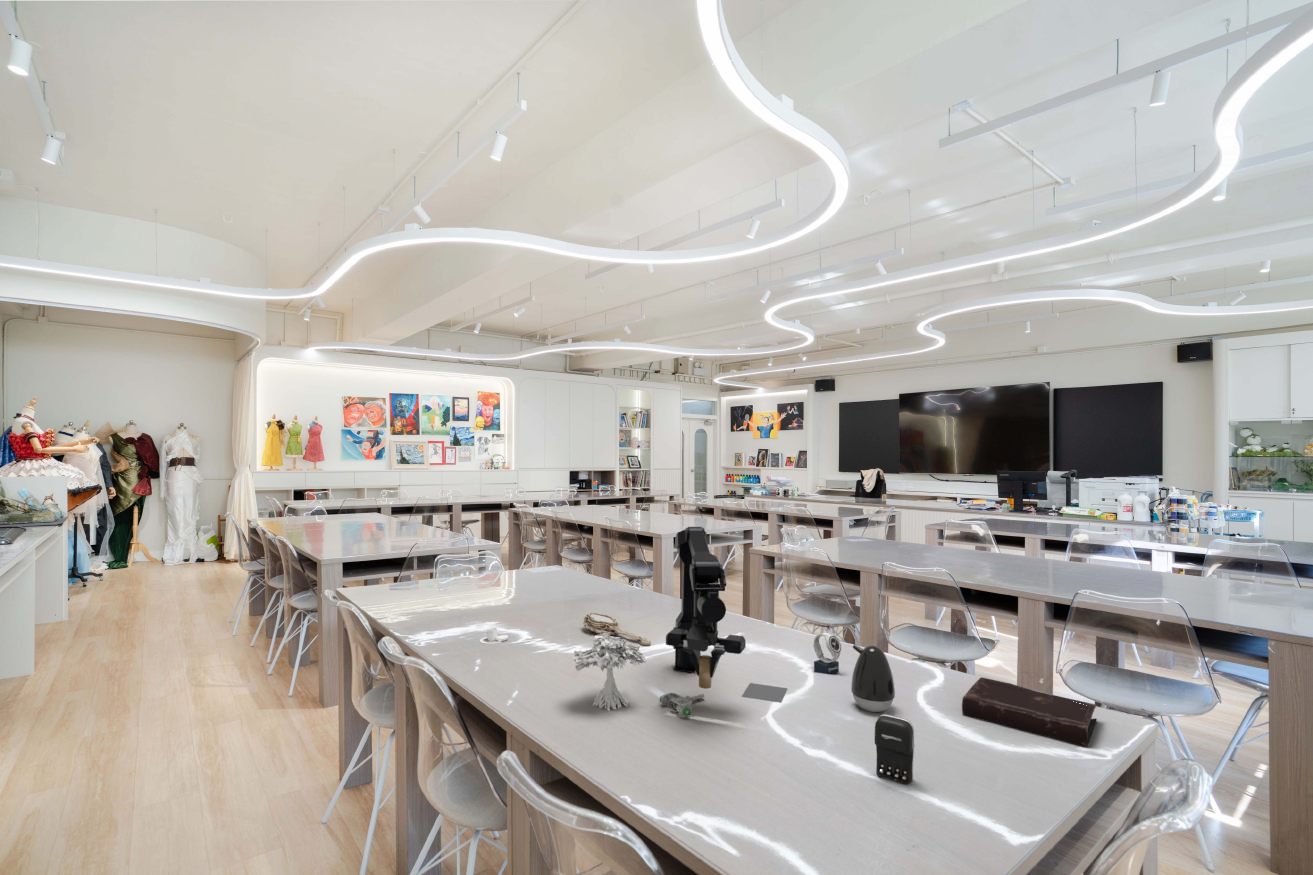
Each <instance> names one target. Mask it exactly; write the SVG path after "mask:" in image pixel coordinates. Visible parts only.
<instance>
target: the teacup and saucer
mask: <svg viewBox="0 0 1313 875" xmlns="http://www.w3.org/2000/svg"><path fill="white" fill-rule="evenodd" d="M486 631H487V634H486ZM483 633H484V635H485V637H482V638H480V639H479V642H480V643H482V644H489V645H491V644H499V643H502V642H504V641H507V640H508V639H509V636H508V635H507V634H502V635H498V634H497V633H498V628H497V627H489V628H487V629H485V630H484V632H483ZM486 639H487V640H488V641H489V642H486V641H484V640H486ZM494 641H495V642H494Z"/></svg>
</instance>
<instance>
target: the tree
mask: <svg viewBox="0 0 1313 875" xmlns="http://www.w3.org/2000/svg"><path fill="white" fill-rule="evenodd" d="M592 642H593V646H591V648H590V649H586V650H584V651H583V650H574V651H573V652H574V656H573V657H572V658H573V661H574V663H575V667H574V668H575V670H576V671H577V672H579V671H581V670H582V669H584V668H585V669H587V668H588V669H590V666H591V665H592V666H593V667H594V666H596V667H598V668H600V670H601V672H604V670H606V679H605V682H604V685H603V687H602V689H601V690H600V691H599V693H598V695H597V696H595V698H594V699H593V704H592V706H595V707H598V708H599V709H602V708H604V709H606V710H607V711H608V712H609V711H610V710H611V708H612V709H613V710H617V709H620V708H622V704H623V705H624V706H625V707H629V705H628V704H629V703H630V702H629V700H628V699H627V698H626V697H625V696H624V695H622V694H621V692H620V691H619V690H618V687H617V684H616V680H615V677H614V672H613V668H614V669H615V668H617V669H618V670H619V669H624V667H626V665H627V662H628V660H629V664H631V665H633V666H634V667H636V668H637V667H638V666H637V664H638V665H639V666H640V667H641V666H642V665H641V664H643V663H645V664H646V662H647V661H646V660H647V659H646V657H645V656H644V655H643V653H642V652H640V651H641V650H640V648H641V647H640V646H641V645H638V646H636V645H633V644H632V643H627V641H626V639H621V637H620V636H619V637H617V636H615V635H610V634H608V633H606V634H605V633H604V634H602V633H601V634H600V633H598V634H596V635H594V639H592Z"/></svg>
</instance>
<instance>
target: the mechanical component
mask: <svg viewBox="0 0 1313 875" xmlns="http://www.w3.org/2000/svg"><path fill="white" fill-rule="evenodd" d="M705 697H706V695H705V694H704V693H702V694H697V695H694V696H689V695H686V696H685V697H684V696H682V695H680V694H677V693H675V692H669V693H665V694H663V695H661V696H660V697H659V702H660V704H661V705H662V706H663V707H668V708H669V707H670V708H671V709H673V710H669V712H670V713H672V714H674V715H676V716H678V717H680V718H682V719H684V718H686V717H689V716H692V714H691V713H692V712H693V704H696V703H701V702H703V701H705ZM674 710H676V711H674Z"/></svg>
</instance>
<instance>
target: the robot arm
mask: <svg viewBox="0 0 1313 875" xmlns="http://www.w3.org/2000/svg"><path fill="white" fill-rule="evenodd" d="M707 536H708V535H707V532H706V531H705V527H702V526H687V527H685V529H683V530H681V531H678V532H676V534H675V537H674V538H675V539H674V540H675V541H674V542H675V543H674V545H675V549H676V551H677V552H676V553H677V555H678V557H679V558H680V560H681V562H682V563H681V564H682V566H681V567H682V568H681V570H682V571H681V572H682V573H681V607H680V608H681V611H680V613H679V614H678V616H677V617H676V618H675V625H674V627H673V629H671V630H670V631H669V632H668V633H667V634H666V636H665V645H666V646H672V648H673V650H674V652H675V653H674V655H675V656H674V657H675V658H674V666H673V667H672V670H674V671H679V672H686V673H687V672H688V673H695V672H696V673H695V674H696V676H698V677H699V656H702V653H701V652H707V650H708V649H709V647H711V646H713V649H712V650H711V651H710V656H711V657H712V659H711V669H710V677H711V679H712V678H713V677H714V675H715V673H716V670H717V667H718V664H719V662H720V658H721V657H722V656H724V655H725V653H729V654H734V655H739V654H742V652H743V651H744V650H745V649H746V644H747V642H746V639H745V637H744V636H743V635H736V634H729V635H727V637H726V638H724V637H718V636H719V630H718V622H721V620H723V619H724V618H725V615H726V611H727V608H726V607H727V606H726V604H725V603H724V601H723V600H722V599H721V597H720V595H719V594H720V592H726V587H727V580H726V573H725V569H724V568H723V565H722V564H721V563H720V560H719V558H718V557H717V556H716V555H715V554H712V553H711V552H710V551H711V550H710V549H709V546H708V538H707Z"/></svg>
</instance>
